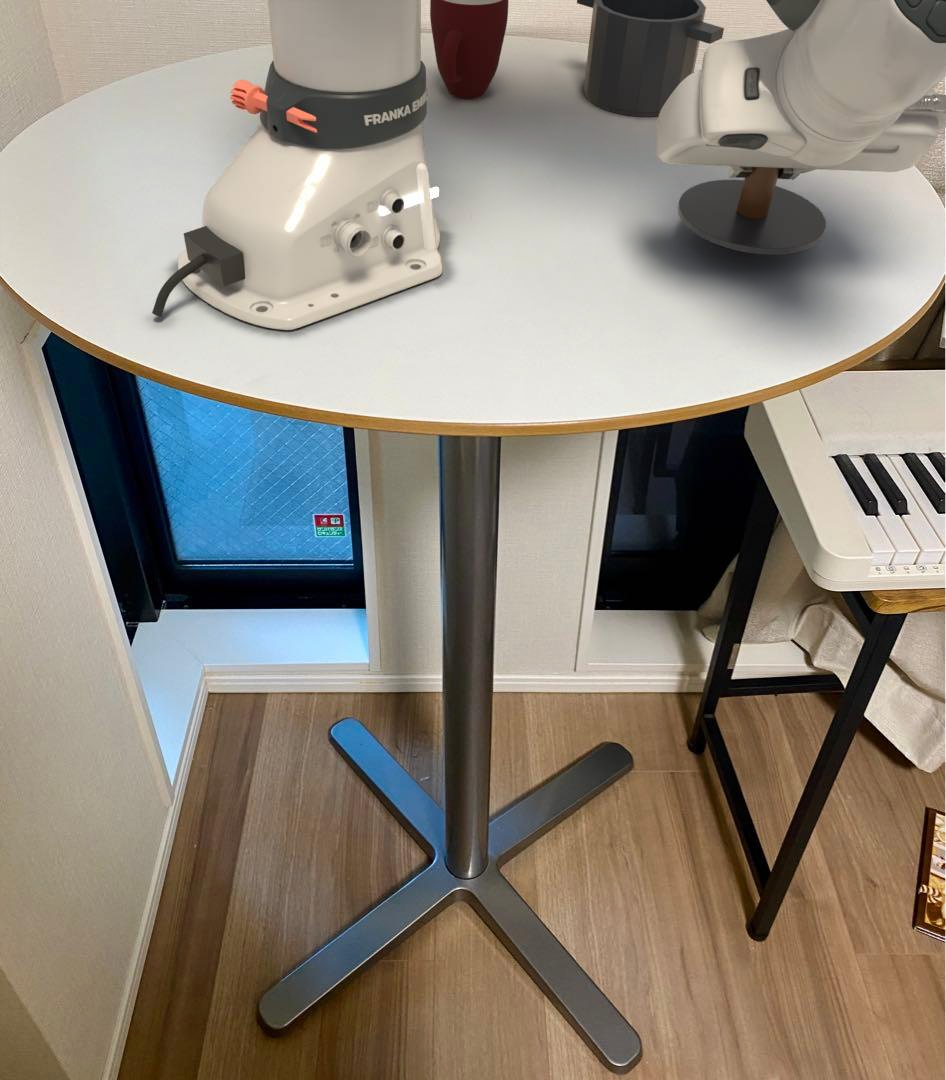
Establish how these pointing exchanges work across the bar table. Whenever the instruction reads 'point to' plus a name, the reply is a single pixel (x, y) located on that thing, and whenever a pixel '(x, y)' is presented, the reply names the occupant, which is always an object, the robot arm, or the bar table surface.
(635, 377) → the bar table surface
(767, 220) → the pot lid
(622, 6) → the dark grey pot
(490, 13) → the mug
